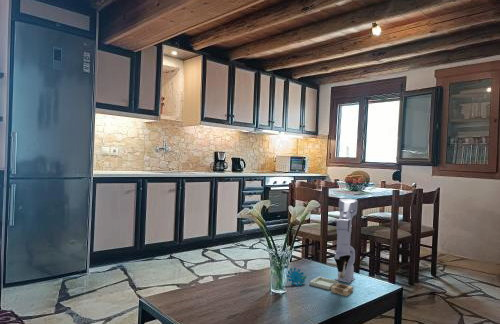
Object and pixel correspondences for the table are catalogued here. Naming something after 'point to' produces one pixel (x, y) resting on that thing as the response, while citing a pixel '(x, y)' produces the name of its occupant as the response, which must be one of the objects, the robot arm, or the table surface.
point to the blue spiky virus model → (296, 276)
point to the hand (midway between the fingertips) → (341, 270)
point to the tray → (323, 282)
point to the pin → (342, 274)
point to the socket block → (342, 289)
